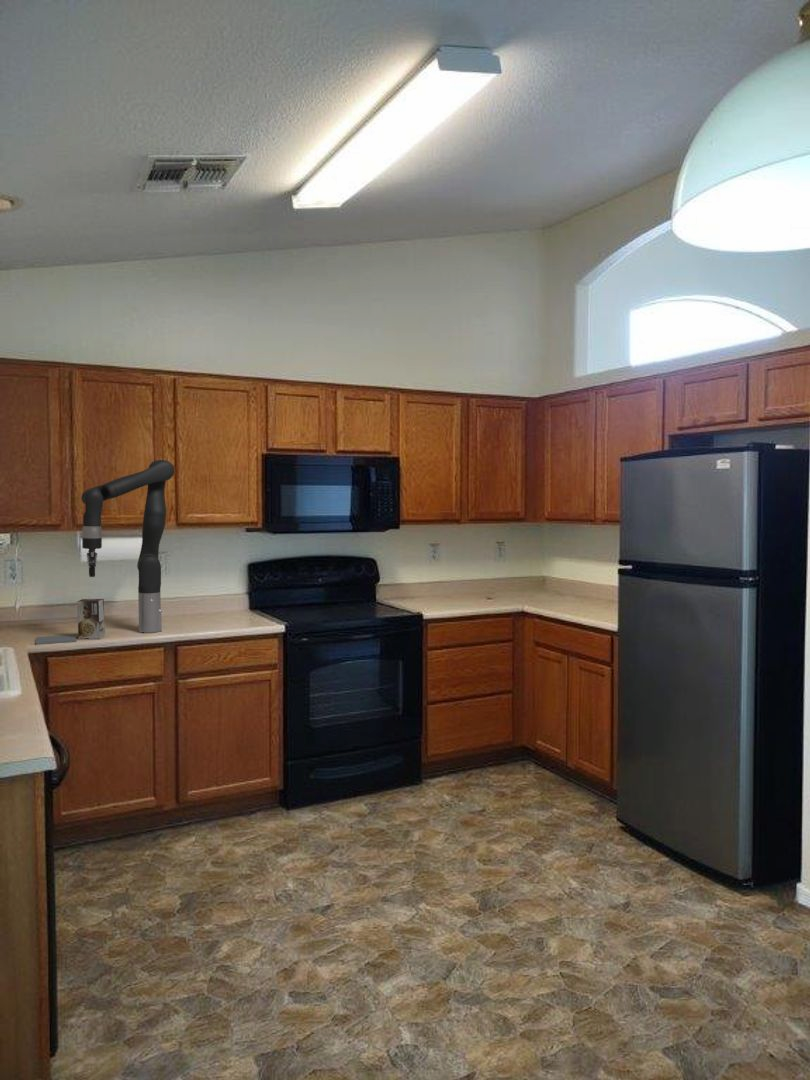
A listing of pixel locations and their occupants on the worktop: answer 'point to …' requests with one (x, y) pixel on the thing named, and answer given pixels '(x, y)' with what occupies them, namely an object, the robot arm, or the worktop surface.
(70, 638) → the mat
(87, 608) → the coffee box
